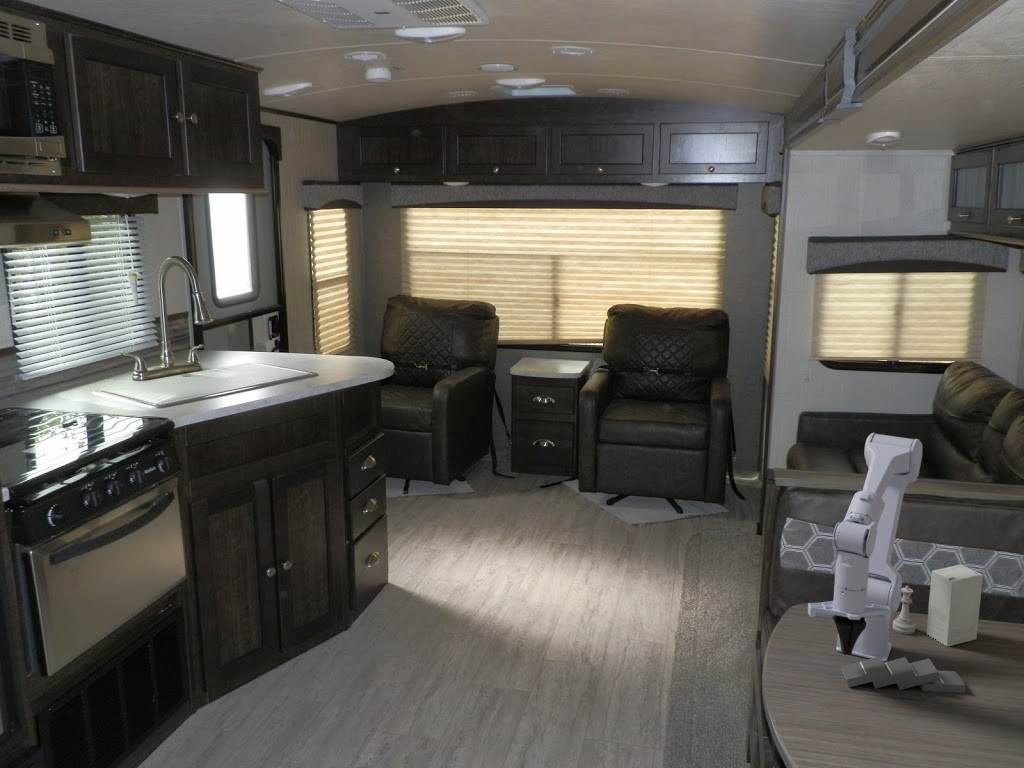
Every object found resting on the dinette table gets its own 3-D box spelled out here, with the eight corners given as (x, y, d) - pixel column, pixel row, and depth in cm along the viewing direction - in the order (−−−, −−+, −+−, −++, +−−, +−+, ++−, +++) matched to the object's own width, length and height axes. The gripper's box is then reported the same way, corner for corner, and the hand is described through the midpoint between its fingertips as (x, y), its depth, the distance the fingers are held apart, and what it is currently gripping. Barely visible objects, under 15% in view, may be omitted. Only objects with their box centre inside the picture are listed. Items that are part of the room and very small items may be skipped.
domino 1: (846, 679, 165) (886, 669, 163) (840, 666, 170) (879, 656, 168) (848, 687, 165) (889, 677, 163) (843, 674, 170) (882, 664, 168)
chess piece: (913, 636, 184) (917, 591, 182) (890, 631, 187) (894, 587, 185) (916, 628, 188) (920, 584, 186) (894, 623, 190) (897, 580, 188)
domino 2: (872, 680, 164) (913, 669, 163) (865, 667, 169) (905, 656, 168) (875, 689, 164) (916, 678, 163) (868, 675, 169) (907, 664, 168)
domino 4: (922, 683, 163) (965, 684, 162) (913, 669, 168) (955, 670, 167) (922, 691, 164) (964, 693, 163) (913, 678, 168) (954, 679, 168)
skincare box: (954, 628, 188) (961, 562, 185) (978, 641, 182) (985, 573, 179) (924, 635, 185) (930, 568, 182) (947, 648, 179) (953, 579, 177)
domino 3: (896, 682, 164) (937, 671, 162) (889, 668, 169) (929, 657, 167) (899, 690, 164) (940, 679, 162) (892, 676, 169) (931, 666, 167)
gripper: (815, 592, 160) (811, 661, 163) (898, 595, 159) (892, 664, 162) (807, 576, 167) (803, 642, 170) (886, 579, 166) (881, 646, 168)
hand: (846, 652), depth 166 cm, fingers closed
